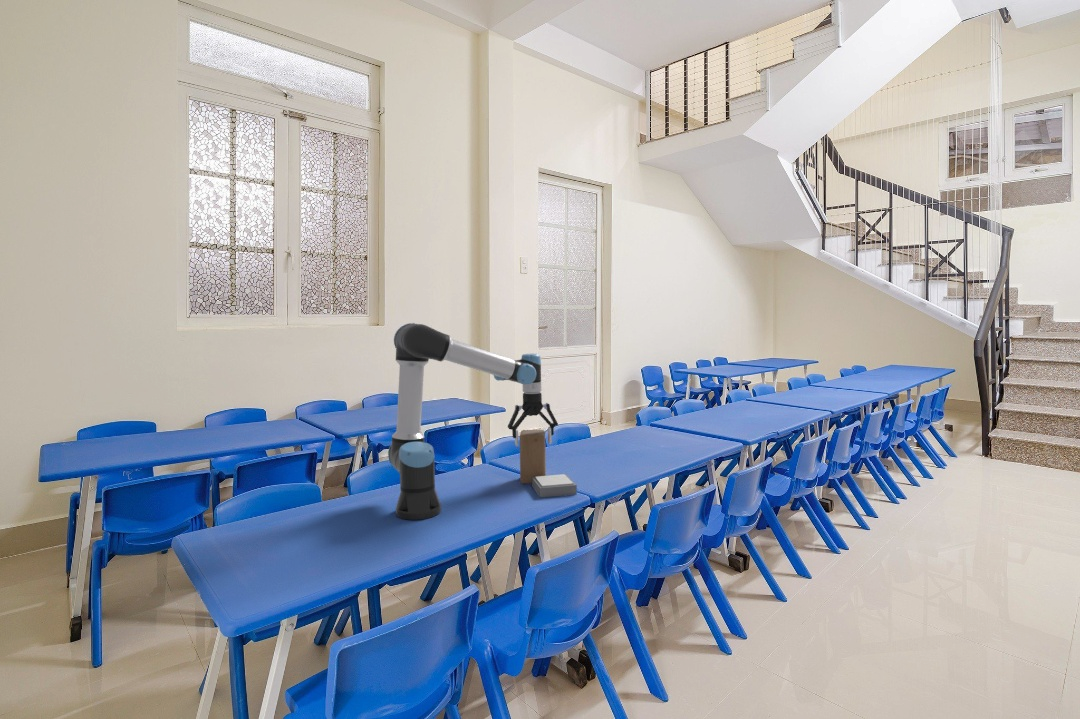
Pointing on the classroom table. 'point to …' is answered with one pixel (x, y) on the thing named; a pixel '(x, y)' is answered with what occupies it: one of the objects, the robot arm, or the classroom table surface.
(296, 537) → the classroom table surface
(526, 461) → the wooden block
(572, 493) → the base
